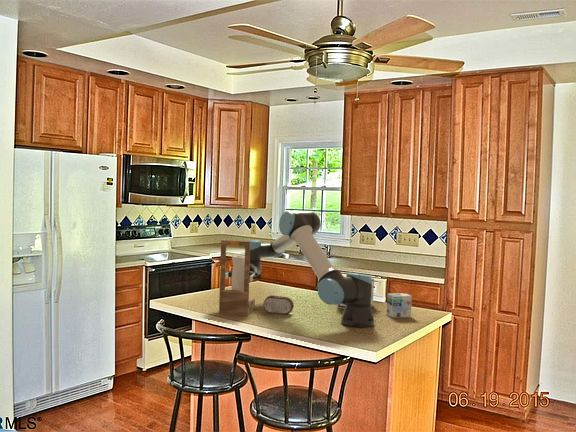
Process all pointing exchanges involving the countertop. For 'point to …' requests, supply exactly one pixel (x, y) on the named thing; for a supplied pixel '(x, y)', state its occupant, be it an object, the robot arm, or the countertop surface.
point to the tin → (278, 305)
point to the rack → (235, 299)
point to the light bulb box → (399, 305)
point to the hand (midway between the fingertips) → (236, 278)
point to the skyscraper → (238, 272)
